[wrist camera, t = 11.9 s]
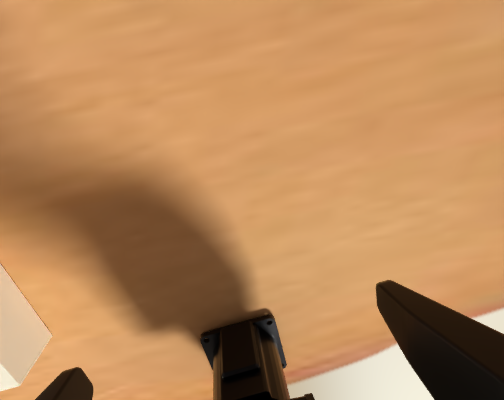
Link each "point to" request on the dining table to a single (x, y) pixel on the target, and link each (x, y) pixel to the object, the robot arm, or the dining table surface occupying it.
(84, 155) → the dining table surface
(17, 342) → the keyhole board
